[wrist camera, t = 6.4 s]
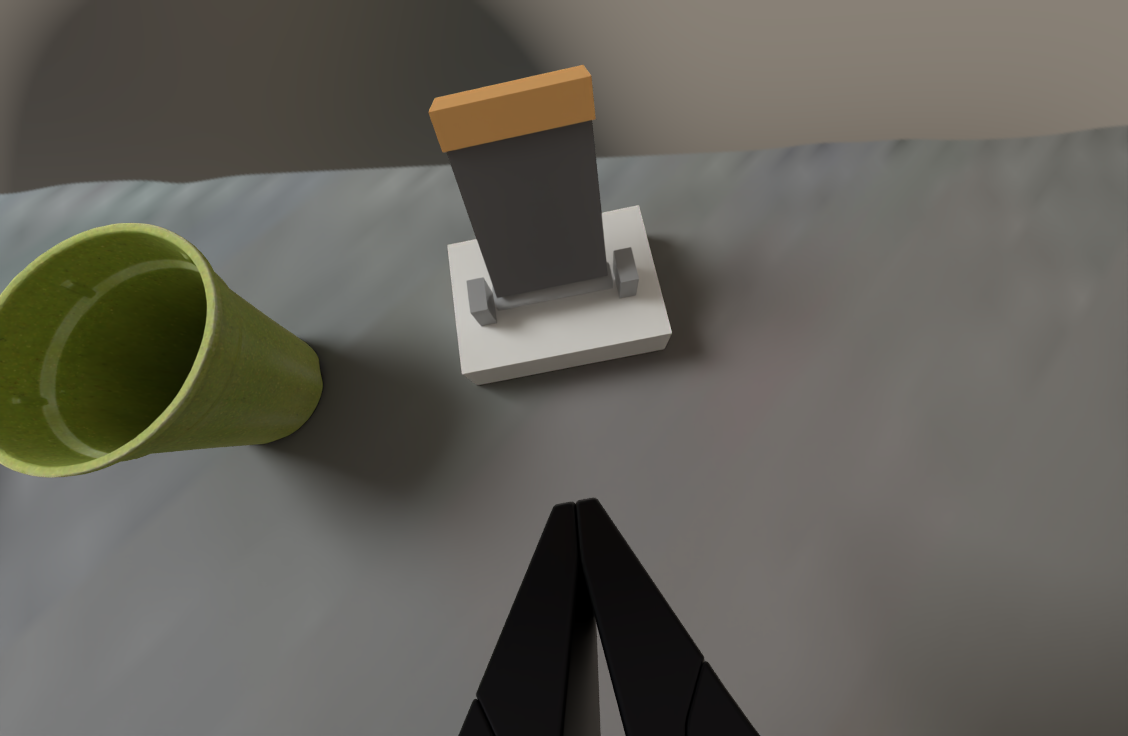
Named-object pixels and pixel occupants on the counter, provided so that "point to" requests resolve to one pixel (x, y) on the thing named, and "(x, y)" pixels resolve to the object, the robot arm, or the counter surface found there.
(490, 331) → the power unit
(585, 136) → the rocker lever
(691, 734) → the robot arm
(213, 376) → the plant pot
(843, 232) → the counter surface
